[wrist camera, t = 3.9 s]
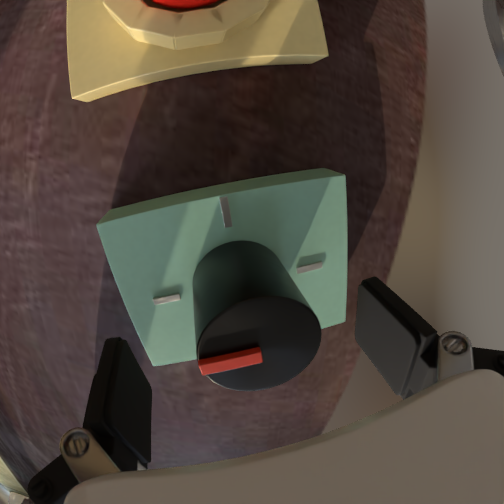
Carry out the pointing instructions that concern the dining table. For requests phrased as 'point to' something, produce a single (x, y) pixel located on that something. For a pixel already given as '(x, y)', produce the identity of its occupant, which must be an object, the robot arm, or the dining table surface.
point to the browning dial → (250, 319)
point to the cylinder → (16, 498)
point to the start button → (184, 3)
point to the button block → (183, 40)
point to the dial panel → (217, 233)
